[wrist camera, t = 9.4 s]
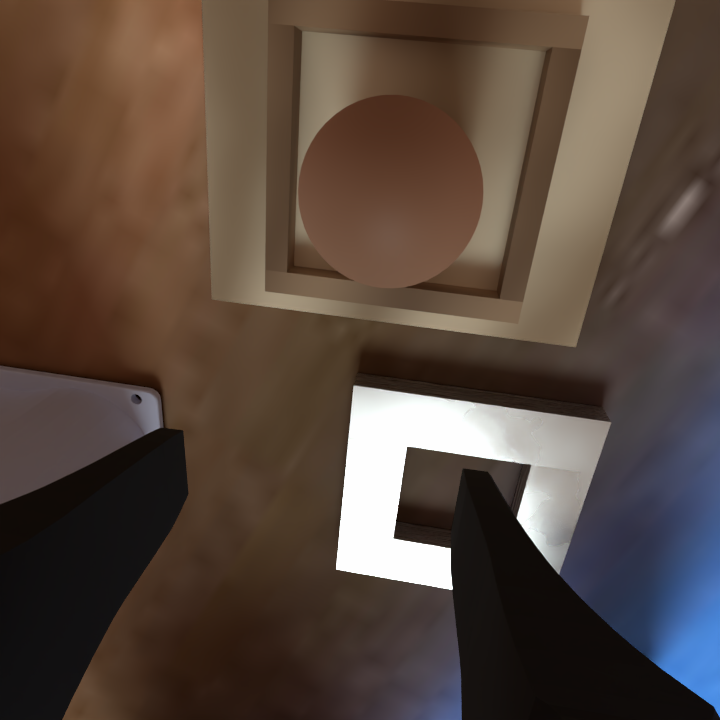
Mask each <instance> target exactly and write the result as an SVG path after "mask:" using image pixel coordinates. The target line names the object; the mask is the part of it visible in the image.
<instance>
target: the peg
mask: <svg viewBox="0 0 720 720" xmlns="http://www.w3.org/2000/svg"><path fill="white" fill-rule="evenodd" d="M298 201H299V209H300V214H301V218H302V221H303V225H304V228H305V230H306V232H307V235H308V237H309V239H310V241H311V242H312V244H313V245H314V247H315V249H316V250H317V251H318V253H319V254H320V255H321V256H322V258H323V259H324V260H325V261H326V262H327V263H328V264H329V265H330V266H332V267H333V268H334V269H335V270H337V271H338V272H339V273H341V274H343V275H344V276H346V277H348V278H349V279H352V280H354V281H356V282H358V283H361V284H365V285H368V286H372V287H379V288H401V287H408V286H412V285H416V284H419V283H421V282H424V281H427V280H429V279H431V278H432V277H434V276H436V275H438V274H439V273H441V272H442V271H444V270H445V269H446V268H448V267H449V266H450V265H451V264H452V263H453V262H454V261H455V260H456V259H457V258H458V257H459V256H460V255H461V253H462V252H463V251H464V249H465V248H466V246H467V245H468V243H469V242H470V240H471V238H472V236H473V234H474V232H475V230H476V227H477V225H478V222H479V219H480V215H481V210H482V205H483V177H482V172H481V166H480V163H479V160H478V157H477V154H476V152H475V150H474V147H473V145H472V143H471V141H470V140H469V138H468V137H467V135H466V134H465V132H464V131H463V130H462V128H461V127H460V126H459V125H458V124H457V123H456V122H455V121H454V120H453V119H452V118H451V117H450V116H449V115H447V114H446V113H445V112H444V111H442V110H440V109H439V108H437V107H436V106H434V105H432V104H430V103H428V102H425V101H423V100H420V99H417V98H413V97H410V96H403V95H380V96H374V97H369V98H366V99H363V100H360V101H357V102H355V103H353V104H351V105H349V106H347V107H345V108H344V109H342V110H341V111H339V112H338V113H336V114H335V115H334V116H333V117H332V118H331V119H329V120H328V121H327V122H326V123H325V124H324V126H323V127H322V128H321V129H320V130H319V131H318V133H317V134H316V136H315V137H314V139H313V140H312V142H311V144H310V146H309V148H308V150H307V152H306V154H305V157H304V160H303V163H302V166H301V171H300V176H299V184H298Z"/></svg>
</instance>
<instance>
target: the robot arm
mask: <svg viewBox="0 0 720 720" xmlns="http://www.w3.org/2000/svg"><path fill="white" fill-rule="evenodd" d="M135 394H137V395H139V396H140V397H141V399H142V400H139V399H138V398H137V397H136V395H135ZM187 496H188V484H187V472H186V460H185V448H184V436H183V430H175V429H168V428H163V417H162V405H161V397H160V395H159V393H158V392H157V391H156V390H154V389H152V388H148V387H141V386H135V385H128V384H121V383H114V382H108V381H101V380H94V379H87V378H81V377H74V376H67V375H60V374H54V373H47V372H40V371H33V370H27V369H20V368H13V367H6V366H0V720H62V719H63V717H64V714H65V712H66V710H67V708H68V706H69V704H70V702H71V699H72V697H73V695H74V693H75V691H76V689H77V687H78V685H79V683H80V681H81V679H82V677H83V675H84V673H85V671H86V669H87V667H88V665H89V663H90V661H91V659H92V657H93V655H94V654H95V652H96V650H97V648H98V646H99V644H100V642H101V640H102V639H103V637H104V635H105V633H106V631H107V629H108V627H109V625H110V623H111V622H112V620H113V618H114V616H115V615H116V613H117V611H118V610H119V608H120V607H121V605H122V603H123V602H124V600H125V599H126V597H127V596H128V594H129V593H130V591H131V590H132V588H133V587H134V585H135V584H136V582H137V581H138V579H139V578H140V576H141V575H142V573H143V572H144V570H145V569H146V567H147V566H148V564H149V563H150V561H151V560H152V558H153V557H154V555H155V554H156V552H157V551H158V549H159V547H160V546H161V544H162V543H163V541H164V540H165V538H166V537H167V535H168V534H169V532H170V530H171V529H172V527H173V525H174V523H175V521H176V519H177V517H178V515H179V513H180V511H181V509H182V507H183V504H184V502H185V500H186V498H187ZM450 571H451V581H452V591H453V600H454V609H455V618H456V628H457V637H458V646H459V655H460V667H461V693H462V720H720V717H719V716H718V714H717V712H716V710H715V708H714V707H713V706H712V705H711V704H709V703H708V702H706V701H705V700H704V699H702V698H701V697H699V696H698V695H697V694H695V693H694V692H692V691H691V690H690V689H688V688H687V687H686V686H684V685H683V684H681V683H680V682H679V681H677V680H676V679H674V678H673V677H672V676H670V675H669V674H667V673H666V672H665V671H663V670H662V669H661V668H659V667H658V666H657V665H656V664H654V663H653V662H652V661H651V660H649V659H648V658H647V657H646V656H644V655H643V654H642V653H641V652H639V651H638V650H637V649H636V648H635V647H633V646H632V645H631V644H630V643H629V642H627V641H626V640H625V639H624V638H623V637H622V636H620V635H619V634H618V633H617V632H616V631H615V630H614V629H612V628H611V627H610V626H609V625H608V624H607V623H606V622H605V621H604V620H603V619H602V618H601V617H600V616H599V615H597V614H596V613H595V612H594V611H593V610H592V609H591V608H590V607H589V606H588V605H587V604H586V603H585V602H584V601H583V600H582V599H581V598H580V597H579V596H578V595H577V594H576V593H575V592H574V591H573V590H572V588H571V587H570V586H569V585H568V584H567V583H566V582H565V581H564V580H563V579H562V577H561V576H560V575H559V574H558V573H557V572H556V571H555V569H554V568H553V567H552V566H551V565H550V563H549V562H548V561H547V560H546V558H545V557H544V556H543V554H542V553H541V552H540V550H539V549H538V548H537V547H536V545H535V544H534V542H533V541H532V540H531V538H530V537H529V536H528V534H527V533H526V531H525V530H524V528H523V527H522V525H521V524H520V522H519V521H518V520H517V518H516V517H515V515H514V513H513V512H512V510H511V509H510V507H509V506H508V504H507V502H506V501H505V499H504V497H503V496H502V494H501V492H500V491H499V489H498V487H497V485H496V484H495V482H494V480H493V478H492V477H491V475H490V474H489V473H488V472H485V471H478V470H470V469H463V470H462V476H461V481H460V486H459V492H458V497H457V502H456V508H455V513H454V518H453V524H452V529H451V558H450Z"/></svg>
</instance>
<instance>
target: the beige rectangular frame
mask: <svg viewBox="0 0 720 720" xmlns="http://www.w3.org/2000/svg"><path fill="white" fill-rule="evenodd" d="M675 1H676V0H202V22H203V52H204V82H205V111H206V141H207V171H208V200H209V230H210V260H211V290H212V299H213V300H220V301H228V302H236V303H243V304H251V305H258V306H266V307H274V308H281V309H289V310H296V311H304V312H312V313H319V314H327V315H335V316H342V317H350V318H357V319H365V320H373V321H380V322H388V323H396V324H403V325H411V326H418V327H426V328H434V329H441V330H449V331H456V332H464V333H472V334H479V335H487V336H495V337H502V338H510V339H517V340H525V341H533V342H540V343H548V344H556V345H563V346H571V347H576V345H577V341H578V338H579V334H580V331H581V327H582V324H583V320H584V317H585V313H586V310H587V306H588V303H589V299H590V296H591V292H592V289H593V286H594V282H595V279H596V275H597V272H598V268H599V265H600V261H601V258H602V254H603V251H604V247H605V244H606V240H607V237H608V233H609V230H610V227H611V223H612V220H613V216H614V213H615V209H616V206H617V202H618V199H619V195H620V192H621V188H622V185H623V181H624V178H625V174H626V171H627V167H628V164H629V161H630V157H631V154H632V150H633V147H634V143H635V140H636V136H637V133H638V129H639V126H640V122H641V119H642V115H643V112H644V108H645V105H646V102H647V98H648V95H649V91H650V88H651V84H652V81H653V77H654V74H655V70H656V67H657V63H658V60H659V56H660V53H661V49H662V46H663V42H664V39H665V36H666V32H667V29H668V25H669V22H670V18H671V15H672V11H673V8H674V4H675ZM380 95H403V96H410V97H413V98H417V99H420V100H423V101H425V102H428V103H430V104H432V105H434V106H436V107H437V108H439V109H440V110H442V111H444V112H445V113H446V114H447V115H449V116H450V117H451V118H452V119H453V120H454V121H455V122H456V123H457V124H458V125H459V126H460V127H461V128H462V130H463V131H464V132H465V134H466V135H467V137H468V138H469V140H470V141H471V143H472V145H473V147H474V150H475V152H476V154H477V157H478V160H479V163H480V166H481V172H482V177H483V205H482V210H481V215H480V219H479V222H478V225H477V227H476V230H475V232H474V234H473V236H472V238H471V240H470V242H469V243H468V245H467V246H466V248H465V249H464V251H463V252H462V253H461V255H460V256H459V257H458V258H457V259H456V260H455V261H454V262H453V263H452V264H451V265H450V266H449V267H448V268H446V269H445V270H444V271H442V272H441V273H439V274H438V275H436V276H434V277H432V278H431V279H429V280H427V281H424V282H421V283H419V284H416V285H412V286H408V287H401V288H379V287H372V286H368V285H365V284H361V283H358V282H356V281H354V280H352V279H349V278H348V277H346V276H344V275H343V274H341V273H339V272H338V271H337V270H335V269H334V268H333V267H332V266H330V265H329V264H328V263H327V262H326V261H325V260H324V259H323V258H322V256H321V255H320V254H319V253H318V251H317V250H316V249H315V247H314V245H313V244H312V242H311V241H310V239H309V237H308V235H307V232H306V230H305V228H304V225H303V221H302V218H301V214H300V209H299V201H298V184H299V176H300V171H301V166H302V163H303V160H304V157H305V154H306V152H307V150H308V148H309V146H310V144H311V142H312V140H313V139H314V137H315V136H316V134H317V133H318V131H319V130H320V129H321V128H322V127H323V126H324V124H325V123H326V122H327V121H328V120H329V119H331V118H332V117H333V116H334V115H335V114H336V113H338V112H339V111H341V110H342V109H344V108H345V107H347V106H349V105H351V104H353V103H355V102H357V101H360V100H363V99H366V98H369V97H374V96H380Z"/></svg>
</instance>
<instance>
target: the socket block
mask: <svg viewBox="0 0 720 720" xmlns="http://www.w3.org/2000/svg"><path fill="white" fill-rule="evenodd" d="M610 424H611V421H610V419H609V418H608V416H607V414H606V412H605V411H604V409H603V407H597V406H590V405H583V404H576V403H569V402H562V401H555V400H548V399H540V398H533V397H526V396H519V395H512V394H505V393H498V392H491V391H483V390H476V389H469V388H462V387H455V386H448V385H441V384H434V383H426V382H419V381H412V380H405V379H398V378H391V377H384V376H377V375H370V374H362V373H357V376H356V380H355V383H354V386H353V397H352V407H351V418H350V429H349V439H348V450H347V461H346V471H345V482H344V493H343V503H342V514H341V525H340V535H339V546H338V557H337V567H336V569H338V570H344V571H349V572H355V573H361V574H367V575H372V576H378V577H384V578H390V579H395V580H401V581H407V582H413V583H418V584H424V585H430V586H436V587H441V588H447V589H452V581H451V571H450V558H451V530H445V529H439V528H433V527H427V526H420V525H414V524H408V523H402V522H396V515H397V508H398V501H399V495H400V488H401V482H402V475H403V468H404V462H405V455H406V449H407V446H411V447H417V448H424V449H431V450H437V451H444V452H450V453H457V454H464V455H470V456H477V457H483V458H490V459H497V460H503V461H510V462H516V463H523V466H522V469H521V473H520V477H519V481H518V484H517V488H516V492H515V495H514V499H513V503H512V507H511V510H512V512H513V513H514V515H515V517H516V518H517V520H518V521H519V522H520V524H521V525H522V527H523V528H524V530H525V531H526V533H527V534H528V536H529V537H530V538H531V540H532V541H533V542H534V544H535V545H536V547H537V548H538V549H539V550H540V552H541V553H542V554H543V556H544V557H545V558H546V560H547V561H548V562H549V563H550V565H551V566H552V567H553V568H554V569H555V571H556V572H557V573H558V574H559V573H560V570H561V568H562V565H563V562H564V559H565V556H566V553H567V550H568V547H569V544H570V541H571V538H572V535H573V532H574V530H575V527H576V524H577V521H578V518H579V515H580V512H581V509H582V506H583V503H584V500H585V497H586V495H587V492H588V489H589V486H590V483H591V480H592V477H593V474H594V471H595V468H596V465H597V462H598V459H599V457H600V454H601V451H602V448H603V445H604V442H605V439H606V436H607V433H608V430H609V427H610Z"/></svg>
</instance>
